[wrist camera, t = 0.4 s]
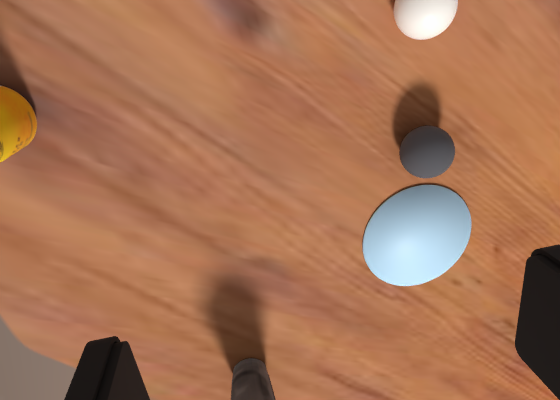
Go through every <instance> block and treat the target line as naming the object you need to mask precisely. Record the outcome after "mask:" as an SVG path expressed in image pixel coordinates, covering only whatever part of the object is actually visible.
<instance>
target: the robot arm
mask: <svg viewBox="0 0 560 400" xmlns="http://www.w3.org/2000/svg"><path fill="white" fill-rule="evenodd" d="M515 347H516V350H517V353H518V354H519V356H520V357H521V359H522V360H523V361H524V362H525V363H526V364H527V365H528V366H529V367H530V369H531V370H532V371H533V372H534V373H535V374H536V375H537V376H538V377H539V378H540V379H541V380H542V382H543V383H544V384H545V385H546V386H547V387H548V388H549V389H550V390H551V391H552V392H553V393H554V395H555V396H556V397H557V398H558V399H559V400H560V245H554V246H549V247H544V248H540V249H536V250H534V251H533V252H532V254H531V257H529V258H528V259H527V262H526V267H525V274H524V281H523V289H522V296H521V303H520V310H519V317H518V324H517V331H516V338H515ZM64 400H150V399H149V396H148V393H147V391H146V388H145V385H144V383H143V380H142V377H141V375H140V372H139V369H138V367H137V364H136V361H135V359H134V356H133V353H132V351H131V348H130V345H129V343H128V342H127V341H123V342H120V340H119V338H118V337H116V336H113V337H109V338H104V339H99V340H94V341H89V342H88V343H87V344H86V346H85V348H84V351H83V353H82V356H81V358H80V361H79V364H78V366H77V369H76V372H75V374H74V377H73V379H72V381H71V384H70V387H69V389H68V392H67V394H66V397H65V399H64Z"/></svg>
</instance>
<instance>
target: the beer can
mask: <svg viewBox="0 0 560 400" xmlns="http://www.w3.org/2000/svg"><path fill="white" fill-rule="evenodd" d="M36 130H37V120H36V116H35V113H34V111H33V109H32V107H31V105H30V104H29V103H28V102H27V100H26V99H25V98H24V97H23V96H21V95H20V94H19V93H17V92H16V91H14V90H12V89H10V88H7V87H4V86H0V162H2V161H4V160H5V159H7V158H8V157H10V156H11V155H13V154H14V153H16V152H17V151H19V150H20V149H22V148H23V147H25V146H26V145H28V144H29V143H30V142H31V141H32V139H33V138H34V136H35V133H36Z"/></svg>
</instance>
